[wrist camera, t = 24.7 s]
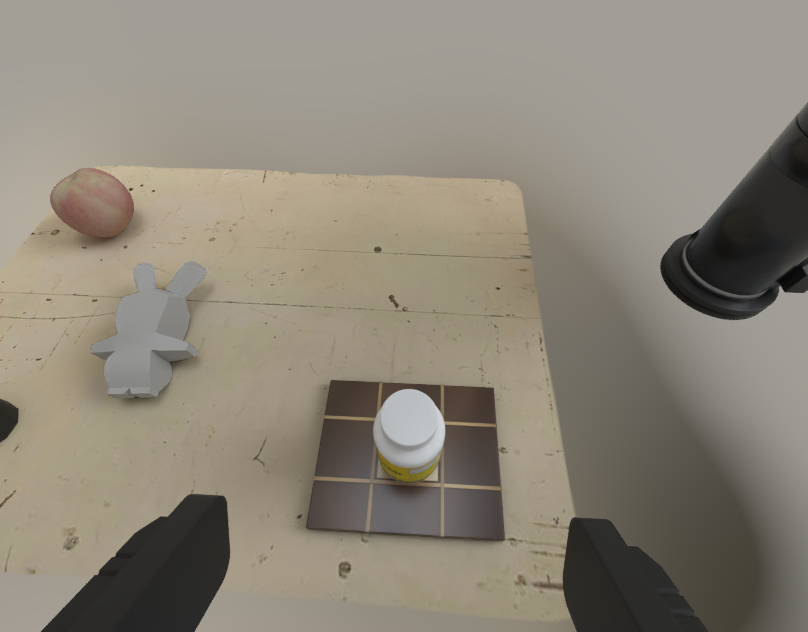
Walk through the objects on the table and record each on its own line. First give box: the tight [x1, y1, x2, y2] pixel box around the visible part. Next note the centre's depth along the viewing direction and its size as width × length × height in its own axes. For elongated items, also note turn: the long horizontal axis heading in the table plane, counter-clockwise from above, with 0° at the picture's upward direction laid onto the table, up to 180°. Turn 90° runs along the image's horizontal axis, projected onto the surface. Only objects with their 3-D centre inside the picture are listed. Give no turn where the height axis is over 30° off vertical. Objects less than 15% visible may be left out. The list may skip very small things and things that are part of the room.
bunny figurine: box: [90, 262, 207, 399], centre depth 41 cm, size 10×5×15 cm
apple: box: [50, 168, 134, 237], centre depth 49 cm, size 8×8×8 cm
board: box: [306, 380, 505, 541], centre depth 36 cm, size 16×13×1 cm
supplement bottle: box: [373, 389, 445, 483], centre depth 31 cm, size 5×5×10 cm
